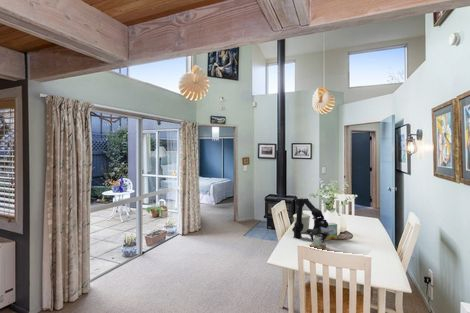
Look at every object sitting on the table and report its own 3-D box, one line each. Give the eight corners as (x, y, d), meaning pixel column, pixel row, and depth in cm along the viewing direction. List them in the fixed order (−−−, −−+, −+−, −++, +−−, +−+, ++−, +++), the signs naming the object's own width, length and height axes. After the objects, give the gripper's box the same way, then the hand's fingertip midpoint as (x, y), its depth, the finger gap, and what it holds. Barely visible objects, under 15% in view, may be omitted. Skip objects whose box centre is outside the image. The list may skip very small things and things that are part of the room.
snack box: (317, 241, 240) (317, 225, 239) (314, 239, 245) (314, 223, 245) (337, 239, 244) (337, 223, 243) (334, 237, 249) (334, 222, 249)
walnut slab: (309, 248, 223) (309, 245, 223) (314, 245, 232) (314, 241, 232) (321, 251, 216) (321, 248, 216) (326, 247, 225) (326, 244, 225)
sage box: (313, 245, 224) (313, 237, 224) (315, 243, 228) (315, 236, 227) (319, 246, 221) (319, 239, 220) (321, 244, 224) (321, 237, 224)
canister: (307, 235, 257) (307, 214, 256) (290, 232, 267) (290, 212, 266) (312, 230, 272) (312, 210, 271) (296, 227, 282) (296, 209, 281)
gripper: (303, 225, 223) (303, 242, 224) (324, 229, 211) (324, 247, 212) (308, 222, 232) (309, 239, 232) (329, 225, 220) (329, 243, 220)
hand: (317, 242), depth 224 cm, fingers open, 9 cm apart
